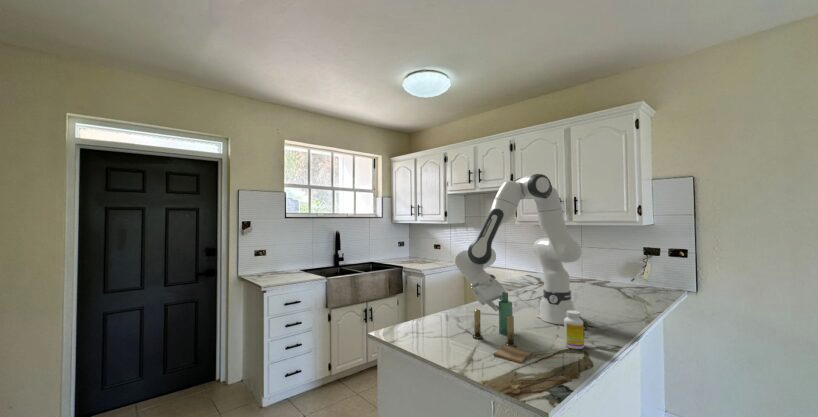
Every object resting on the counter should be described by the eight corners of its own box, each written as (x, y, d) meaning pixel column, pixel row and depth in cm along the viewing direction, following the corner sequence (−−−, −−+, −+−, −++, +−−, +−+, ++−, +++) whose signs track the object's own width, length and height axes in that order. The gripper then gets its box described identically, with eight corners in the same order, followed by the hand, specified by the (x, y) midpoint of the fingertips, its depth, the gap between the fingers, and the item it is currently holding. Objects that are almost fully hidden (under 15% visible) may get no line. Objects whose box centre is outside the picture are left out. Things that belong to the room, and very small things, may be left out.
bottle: (502, 330, 144) (501, 290, 144) (515, 332, 140) (514, 292, 141) (496, 333, 139) (496, 293, 140) (509, 336, 136) (508, 294, 136)
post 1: (475, 335, 138) (475, 308, 138) (484, 337, 135) (483, 309, 136) (470, 337, 135) (470, 310, 135) (479, 339, 132) (479, 312, 132)
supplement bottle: (587, 349, 121) (586, 314, 122) (569, 349, 122) (568, 314, 122) (578, 343, 128) (577, 309, 129) (561, 343, 128) (560, 309, 129)
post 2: (507, 342, 129) (507, 314, 129) (518, 345, 126) (517, 316, 127) (503, 345, 126) (503, 316, 126) (514, 348, 123) (513, 318, 124)
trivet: (505, 347, 124) (505, 345, 124) (532, 353, 118) (531, 351, 118) (493, 355, 117) (493, 353, 117) (521, 363, 110) (521, 360, 110)
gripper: (474, 281, 138) (496, 308, 132) (495, 274, 154) (516, 298, 147) (465, 290, 141) (486, 317, 134) (486, 283, 157) (507, 307, 150)
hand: (502, 307), depth 141 cm, fingers open, 8 cm apart
